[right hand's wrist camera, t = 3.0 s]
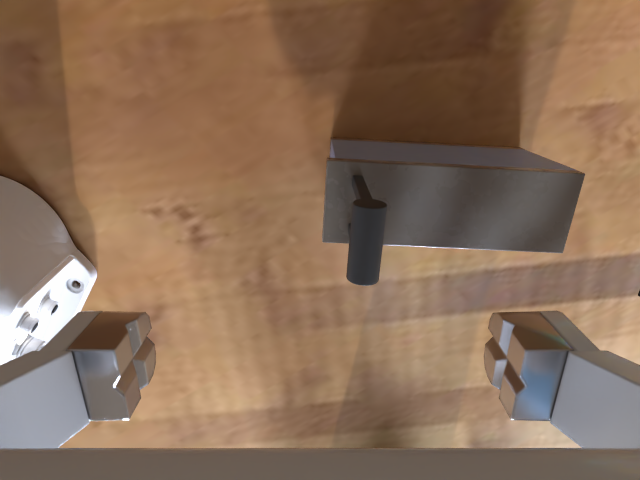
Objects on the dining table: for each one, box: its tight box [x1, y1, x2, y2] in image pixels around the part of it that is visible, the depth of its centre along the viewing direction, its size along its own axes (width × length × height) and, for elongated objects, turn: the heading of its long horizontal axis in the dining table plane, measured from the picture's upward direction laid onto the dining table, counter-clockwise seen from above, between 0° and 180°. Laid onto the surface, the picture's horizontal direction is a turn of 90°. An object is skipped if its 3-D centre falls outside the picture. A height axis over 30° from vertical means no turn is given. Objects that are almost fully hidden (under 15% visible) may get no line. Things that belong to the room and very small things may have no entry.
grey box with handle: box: [322, 158, 585, 286], centre depth 27 cm, size 17×6×9 cm, turn 87°
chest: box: [329, 138, 575, 170], centre depth 35 cm, size 17×6×9 cm, turn 87°
